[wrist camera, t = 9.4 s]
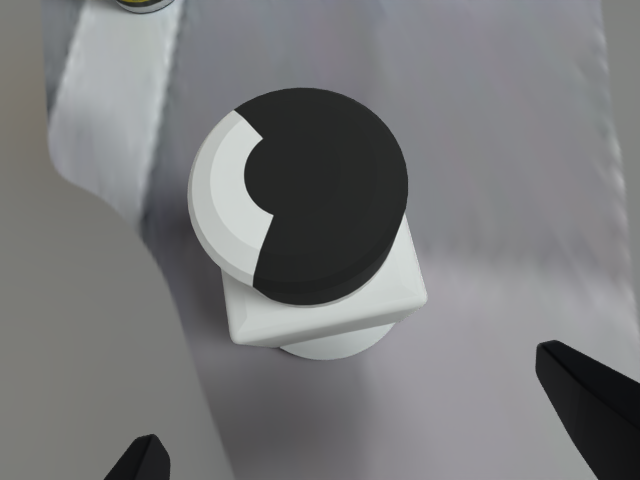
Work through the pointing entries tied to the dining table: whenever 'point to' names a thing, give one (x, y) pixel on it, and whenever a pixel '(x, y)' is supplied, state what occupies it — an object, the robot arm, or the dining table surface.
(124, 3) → the supplement bottle
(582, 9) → the dining table surface
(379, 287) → the medicine bottle
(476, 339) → the dining table surface
